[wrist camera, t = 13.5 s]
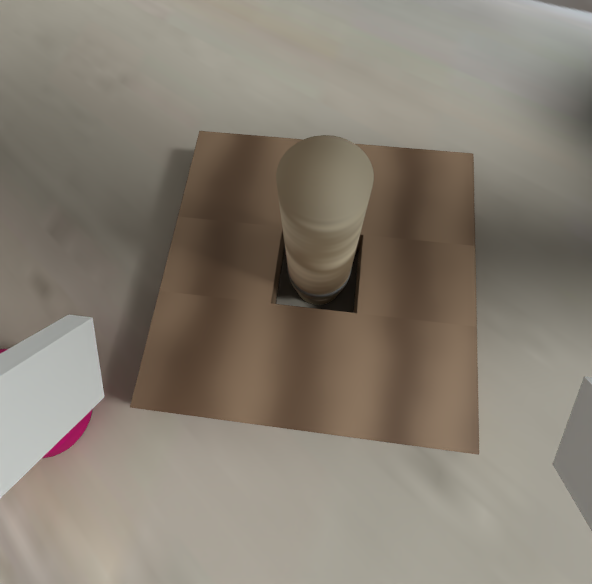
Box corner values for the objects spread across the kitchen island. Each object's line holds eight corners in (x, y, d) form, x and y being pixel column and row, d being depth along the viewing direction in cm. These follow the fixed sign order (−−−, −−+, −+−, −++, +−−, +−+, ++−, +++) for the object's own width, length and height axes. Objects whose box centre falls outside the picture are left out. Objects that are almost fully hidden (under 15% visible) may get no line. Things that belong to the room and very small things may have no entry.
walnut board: (459, 176, 34) (473, 153, 31) (461, 451, 27) (479, 454, 24) (208, 154, 35) (199, 130, 32) (147, 409, 28) (129, 407, 26)
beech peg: (349, 259, 32) (377, 138, 18) (344, 313, 30) (371, 224, 17) (293, 253, 32) (282, 131, 19) (286, 307, 30) (268, 214, 17)
